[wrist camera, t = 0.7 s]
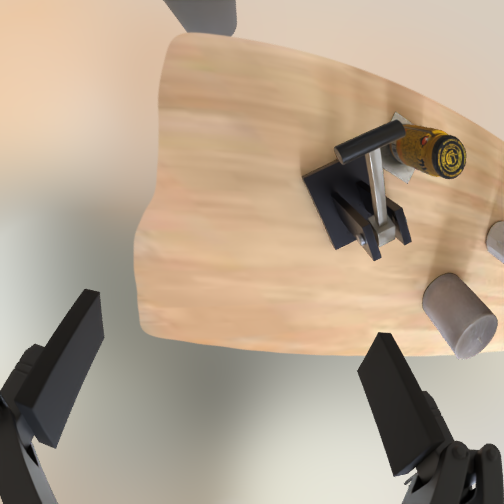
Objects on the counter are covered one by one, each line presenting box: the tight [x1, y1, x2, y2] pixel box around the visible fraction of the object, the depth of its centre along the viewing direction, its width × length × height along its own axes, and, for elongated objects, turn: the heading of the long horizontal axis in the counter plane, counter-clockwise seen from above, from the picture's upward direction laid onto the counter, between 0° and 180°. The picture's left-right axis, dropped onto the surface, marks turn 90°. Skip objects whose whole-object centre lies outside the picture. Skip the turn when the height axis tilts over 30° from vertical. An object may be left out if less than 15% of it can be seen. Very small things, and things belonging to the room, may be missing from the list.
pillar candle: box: [423, 273, 498, 359], centre depth 45 cm, size 10×10×15 cm
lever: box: [334, 120, 406, 247], centre depth 27 cm, size 15×6×2 cm, turn 27°
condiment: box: [380, 112, 466, 184], centre depth 34 cm, size 7×8×12 cm
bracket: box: [302, 155, 412, 261], centre depth 37 cm, size 12×10×14 cm
